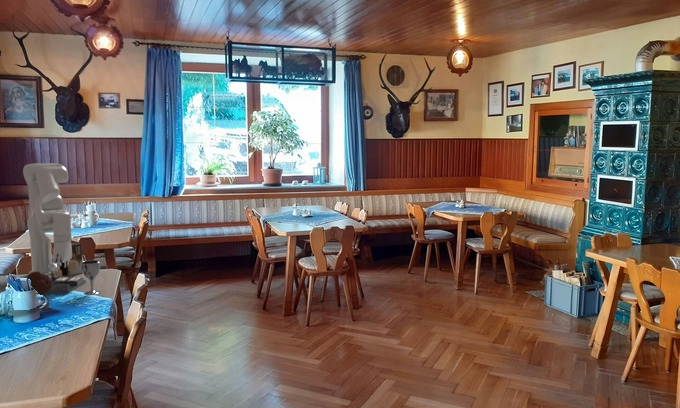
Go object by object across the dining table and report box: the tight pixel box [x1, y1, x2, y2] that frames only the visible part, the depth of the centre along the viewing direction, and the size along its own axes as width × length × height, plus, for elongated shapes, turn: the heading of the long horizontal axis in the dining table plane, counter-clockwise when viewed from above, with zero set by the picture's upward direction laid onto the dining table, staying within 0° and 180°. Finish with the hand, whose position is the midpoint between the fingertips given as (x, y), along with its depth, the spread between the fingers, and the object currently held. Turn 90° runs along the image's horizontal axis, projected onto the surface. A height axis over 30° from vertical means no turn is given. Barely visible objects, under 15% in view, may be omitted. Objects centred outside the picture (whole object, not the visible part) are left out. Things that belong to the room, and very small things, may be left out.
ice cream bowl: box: [26, 272, 53, 296], centre depth 228 cm, size 11×11×15 cm
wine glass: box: [82, 259, 101, 296], centre depth 246 cm, size 8×8×15 cm
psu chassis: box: [47, 271, 87, 294], centre depth 254 cm, size 19×15×8 cm
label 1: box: [56, 277, 69, 281], centre depth 258 cm, size 5×4×1 cm
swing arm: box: [48, 262, 63, 278], centre depth 251 cm, size 18×4×3 cm, turn 36°
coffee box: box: [67, 242, 83, 276], centre depth 281 cm, size 9×6×16 cm
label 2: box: [69, 277, 81, 281], centre depth 258 cm, size 5×4×1 cm
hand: (64, 275), depth 250 cm, fingers closed
